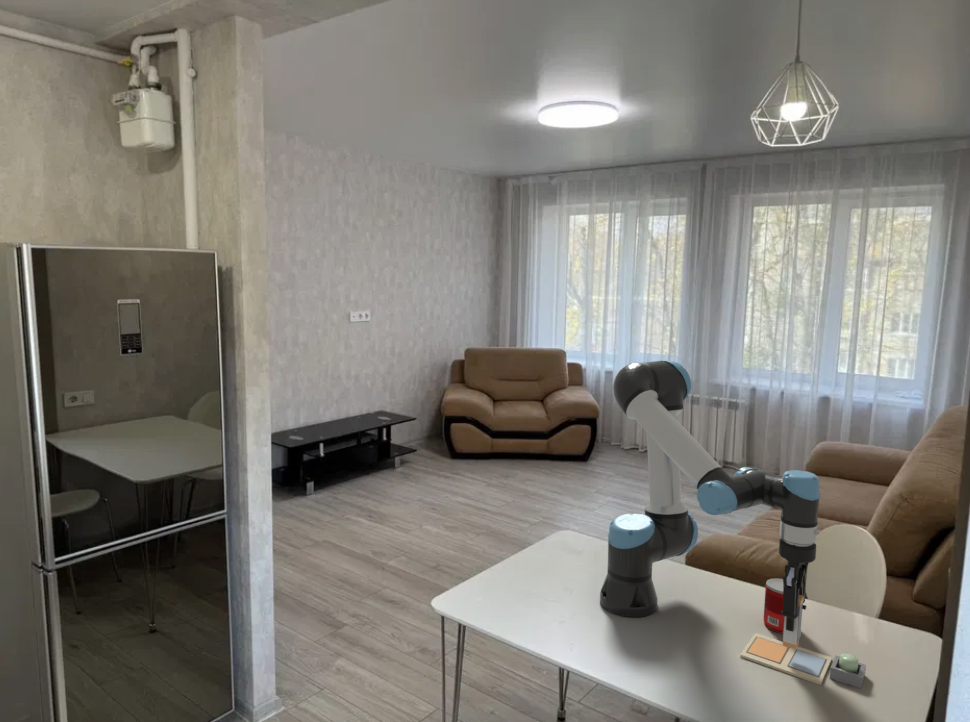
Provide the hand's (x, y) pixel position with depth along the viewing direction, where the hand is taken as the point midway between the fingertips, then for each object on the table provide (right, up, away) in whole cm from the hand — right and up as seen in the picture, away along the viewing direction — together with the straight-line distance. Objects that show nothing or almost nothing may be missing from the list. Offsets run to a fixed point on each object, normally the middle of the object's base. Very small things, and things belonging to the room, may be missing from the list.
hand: (791, 638), depth 150 cm
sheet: (-1, -5, +2) cm, 6 cm away
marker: (0, -1, 0) cm, 1 cm away
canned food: (+5, -4, +16) cm, 17 cm away
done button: (+10, -5, -5) cm, 12 cm away
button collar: (+10, -6, -5) cm, 13 cm away
